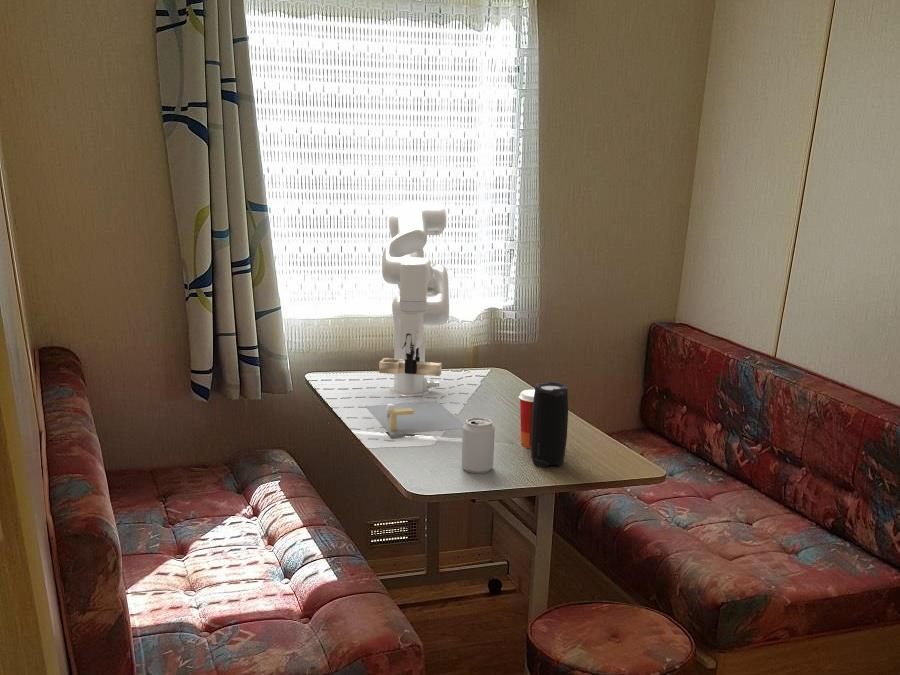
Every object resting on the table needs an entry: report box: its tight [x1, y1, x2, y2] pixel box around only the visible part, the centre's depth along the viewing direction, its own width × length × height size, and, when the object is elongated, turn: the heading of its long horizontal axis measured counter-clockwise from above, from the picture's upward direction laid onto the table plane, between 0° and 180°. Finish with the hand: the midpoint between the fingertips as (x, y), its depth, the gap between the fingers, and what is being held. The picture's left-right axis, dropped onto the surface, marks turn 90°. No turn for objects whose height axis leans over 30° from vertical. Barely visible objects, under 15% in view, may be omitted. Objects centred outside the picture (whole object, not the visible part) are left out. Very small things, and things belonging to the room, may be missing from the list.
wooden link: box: [378, 357, 443, 377], centre depth 225 cm, size 17×5×3 cm, turn 80°
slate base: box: [365, 400, 466, 439], centre depth 228 cm, size 22×27×6 cm
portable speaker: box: [530, 381, 569, 469], centre depth 196 cm, size 9×9×20 cm
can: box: [461, 417, 496, 474], centre depth 191 cm, size 8×8×12 cm
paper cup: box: [518, 389, 535, 449], centre depth 209 cm, size 8×8×14 cm
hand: (412, 371), depth 225 cm, fingers closed on wooden link, 3 cm apart
